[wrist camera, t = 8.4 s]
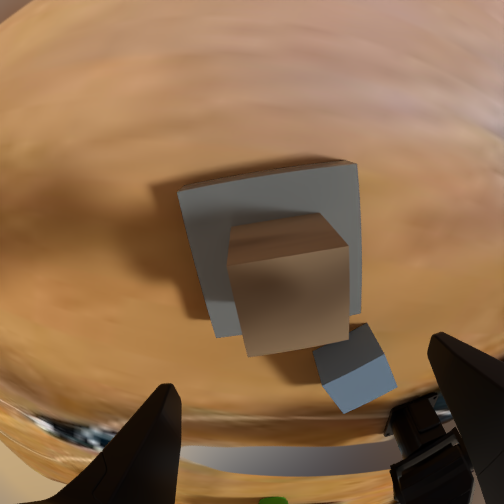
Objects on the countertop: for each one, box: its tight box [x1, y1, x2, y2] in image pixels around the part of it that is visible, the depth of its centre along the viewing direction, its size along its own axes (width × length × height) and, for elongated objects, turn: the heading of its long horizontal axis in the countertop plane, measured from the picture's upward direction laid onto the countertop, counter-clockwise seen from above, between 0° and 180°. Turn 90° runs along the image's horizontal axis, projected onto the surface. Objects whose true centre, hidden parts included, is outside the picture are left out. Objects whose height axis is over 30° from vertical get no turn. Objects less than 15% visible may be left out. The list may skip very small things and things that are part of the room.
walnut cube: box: [227, 213, 350, 357], centre depth 15 cm, size 5×5×5 cm
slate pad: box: [177, 160, 362, 338], centre depth 18 cm, size 10×10×2 cm
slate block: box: [312, 323, 397, 414], centre depth 21 cm, size 5×5×4 cm
